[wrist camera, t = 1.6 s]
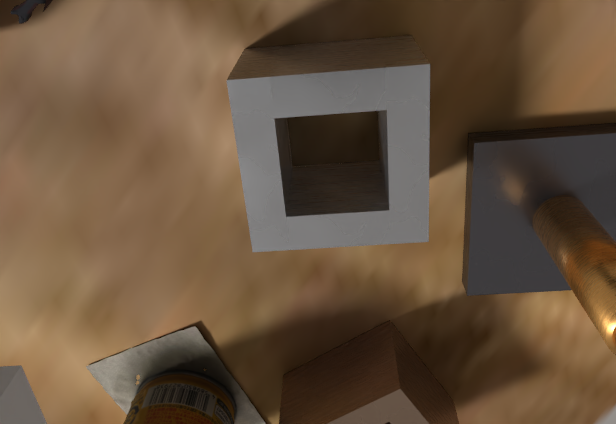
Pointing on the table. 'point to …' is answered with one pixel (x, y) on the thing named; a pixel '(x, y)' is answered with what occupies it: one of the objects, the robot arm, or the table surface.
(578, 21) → the table surface
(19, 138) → the table surface
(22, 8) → the figurine
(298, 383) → the link
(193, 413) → the condiment
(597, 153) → the keeper
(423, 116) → the grey hollow block
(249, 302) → the table surface
